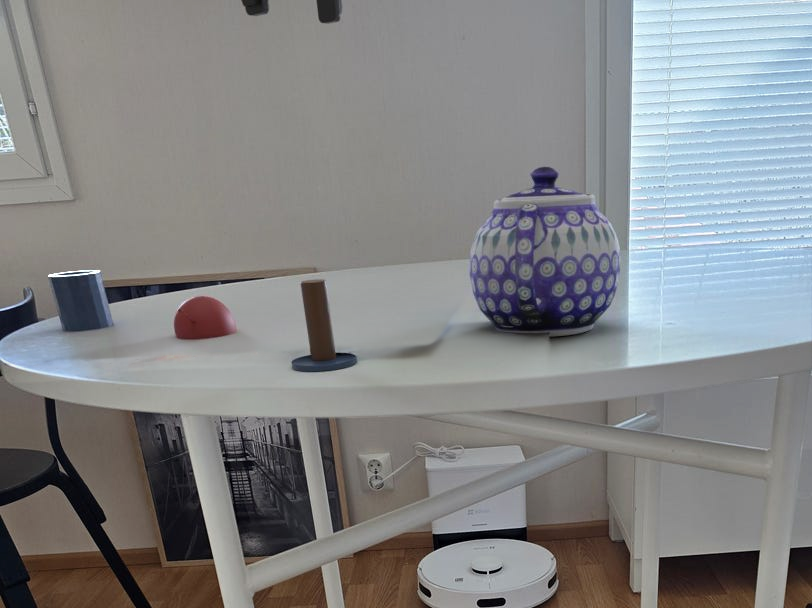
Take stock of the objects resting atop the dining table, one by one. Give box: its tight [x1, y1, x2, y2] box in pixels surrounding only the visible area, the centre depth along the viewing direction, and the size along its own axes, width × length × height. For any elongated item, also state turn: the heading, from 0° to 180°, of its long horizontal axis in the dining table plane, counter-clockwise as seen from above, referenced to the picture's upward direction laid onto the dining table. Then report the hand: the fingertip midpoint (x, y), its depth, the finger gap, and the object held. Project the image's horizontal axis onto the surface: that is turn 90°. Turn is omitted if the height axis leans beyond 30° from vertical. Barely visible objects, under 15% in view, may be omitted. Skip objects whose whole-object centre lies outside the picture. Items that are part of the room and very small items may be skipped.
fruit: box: [173, 295, 237, 341], centre depth 87 cm, size 6×6×8 cm
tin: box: [47, 269, 114, 332], centre depth 97 cm, size 5×5×8 cm
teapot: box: [469, 166, 621, 337], centre depth 86 cm, size 25×15×15 cm, turn 165°
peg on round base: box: [291, 278, 358, 372], centre depth 75 cm, size 6×6×8 cm
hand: (295, 18), depth 75 cm, fingers open, 8 cm apart
